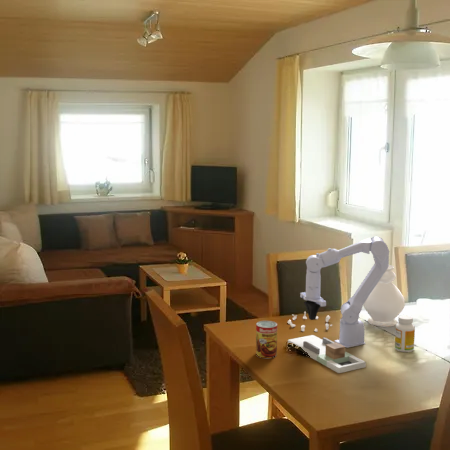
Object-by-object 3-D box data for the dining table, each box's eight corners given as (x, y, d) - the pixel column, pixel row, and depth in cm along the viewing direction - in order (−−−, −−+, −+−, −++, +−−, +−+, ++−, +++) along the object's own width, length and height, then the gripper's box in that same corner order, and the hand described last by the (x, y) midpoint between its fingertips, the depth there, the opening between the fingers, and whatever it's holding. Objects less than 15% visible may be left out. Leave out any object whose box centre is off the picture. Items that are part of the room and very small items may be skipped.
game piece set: (325, 317, 284) (325, 309, 284) (339, 332, 265) (339, 323, 264) (282, 319, 282) (283, 310, 281) (293, 334, 262) (293, 325, 262)
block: (336, 352, 235) (336, 342, 235) (344, 357, 231) (345, 346, 230) (325, 354, 233) (325, 344, 232) (333, 359, 229) (334, 348, 228)
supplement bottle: (415, 347, 246) (416, 315, 244) (412, 353, 240) (413, 321, 238) (396, 344, 249) (397, 313, 247) (393, 350, 243) (394, 318, 241)
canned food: (261, 359, 234) (262, 328, 232) (252, 352, 241) (252, 322, 239) (280, 356, 237) (281, 325, 235) (270, 349, 244) (271, 319, 242)
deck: (312, 339, 255) (313, 330, 254) (365, 367, 227) (365, 356, 226) (287, 344, 249) (288, 334, 248) (338, 373, 221) (339, 362, 221)
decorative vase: (408, 328, 268) (411, 271, 264) (366, 328, 268) (368, 271, 264) (397, 315, 285) (400, 261, 281) (358, 315, 286) (360, 261, 281)
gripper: (294, 282, 253) (293, 315, 255) (315, 291, 240) (314, 326, 242) (308, 280, 256) (308, 313, 258) (330, 289, 243) (329, 323, 246)
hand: (312, 319), depth 250 cm, fingers closed
